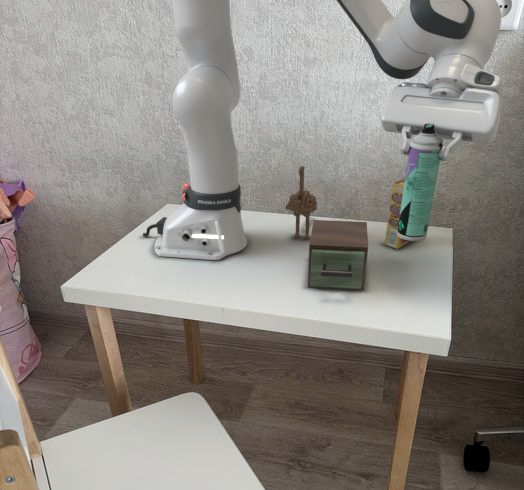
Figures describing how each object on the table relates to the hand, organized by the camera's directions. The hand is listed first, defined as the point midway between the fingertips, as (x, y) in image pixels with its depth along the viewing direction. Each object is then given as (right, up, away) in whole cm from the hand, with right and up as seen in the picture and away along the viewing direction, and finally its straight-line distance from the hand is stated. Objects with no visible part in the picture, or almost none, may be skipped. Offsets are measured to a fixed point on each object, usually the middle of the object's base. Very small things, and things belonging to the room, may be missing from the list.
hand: (423, 156), depth 93 cm
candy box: (+6, -8, +37) cm, 39 cm away
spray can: (0, -12, +9) cm, 15 cm away
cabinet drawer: (-13, -19, +20) cm, 30 cm away
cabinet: (-12, -17, +23) cm, 32 cm away
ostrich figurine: (-17, -3, +44) cm, 47 cm away
